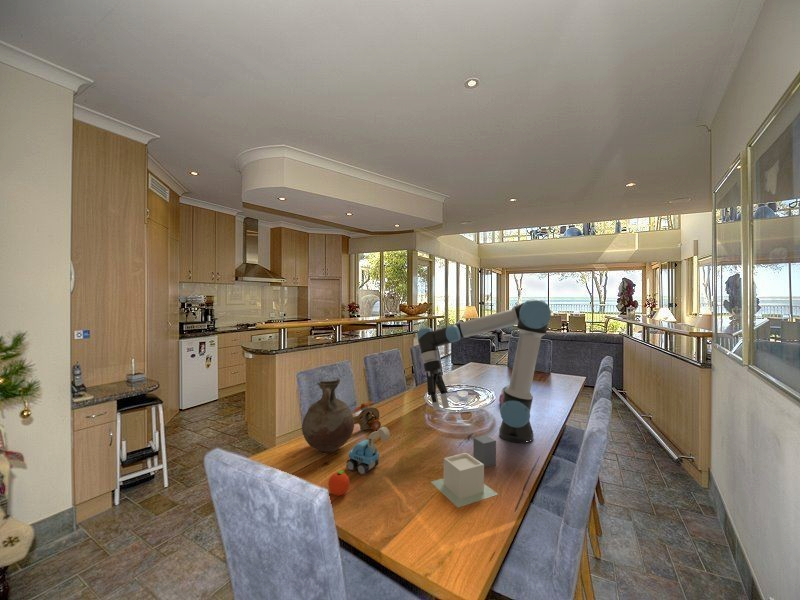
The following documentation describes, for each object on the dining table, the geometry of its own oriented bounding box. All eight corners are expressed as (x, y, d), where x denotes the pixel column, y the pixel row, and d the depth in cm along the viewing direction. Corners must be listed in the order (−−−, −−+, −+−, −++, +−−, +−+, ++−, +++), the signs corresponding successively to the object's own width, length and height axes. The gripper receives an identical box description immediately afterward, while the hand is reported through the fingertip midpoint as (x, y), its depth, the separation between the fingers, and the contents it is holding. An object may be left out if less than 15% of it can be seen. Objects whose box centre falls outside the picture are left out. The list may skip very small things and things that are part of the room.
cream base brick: (466, 477, 122) (466, 452, 122) (483, 491, 113) (484, 464, 113) (443, 484, 118) (443, 458, 117) (460, 499, 109) (460, 470, 109)
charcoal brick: (485, 459, 137) (485, 434, 137) (495, 466, 132) (496, 440, 132) (473, 463, 135) (473, 437, 135) (483, 470, 129) (483, 443, 129)
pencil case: (501, 397, 222) (501, 383, 222) (516, 399, 219) (516, 384, 218) (498, 407, 202) (498, 392, 202) (514, 409, 199) (514, 393, 199)
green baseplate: (467, 474, 126) (467, 471, 126) (498, 497, 112) (498, 494, 112) (430, 484, 119) (430, 481, 119) (457, 510, 105) (457, 507, 105)
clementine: (337, 484, 119) (337, 464, 119) (355, 489, 116) (355, 468, 116) (323, 497, 112) (323, 475, 111) (342, 502, 109) (342, 479, 109)
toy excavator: (380, 482, 121) (380, 433, 120) (344, 469, 130) (344, 424, 129) (393, 471, 128) (393, 425, 128) (358, 460, 137) (358, 417, 137)
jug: (348, 435, 160) (348, 371, 160) (359, 456, 140) (359, 382, 140) (300, 442, 153) (300, 375, 152) (304, 465, 132) (304, 387, 132)
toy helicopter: (383, 429, 168) (383, 401, 168) (343, 439, 157) (343, 409, 156) (374, 424, 175) (374, 397, 175) (336, 433, 163) (336, 404, 163)
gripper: (432, 364, 170) (442, 409, 164) (413, 362, 148) (424, 412, 142) (446, 361, 168) (457, 405, 161) (429, 357, 146) (441, 409, 139)
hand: (442, 409), depth 151 cm, fingers open, 13 cm apart
